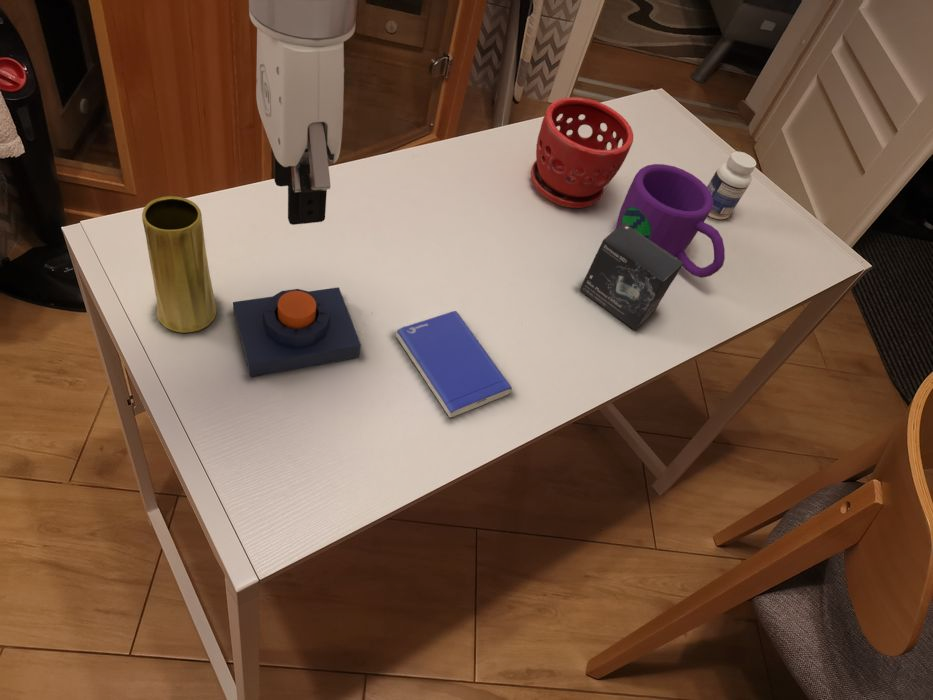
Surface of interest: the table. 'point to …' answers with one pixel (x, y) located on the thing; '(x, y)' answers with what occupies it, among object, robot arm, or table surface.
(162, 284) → the vase
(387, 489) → the table surface
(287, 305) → the orange button
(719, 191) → the pill bottle
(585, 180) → the flower pot
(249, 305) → the button block
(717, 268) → the mug
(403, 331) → the hard drive
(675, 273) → the box
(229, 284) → the table surface
